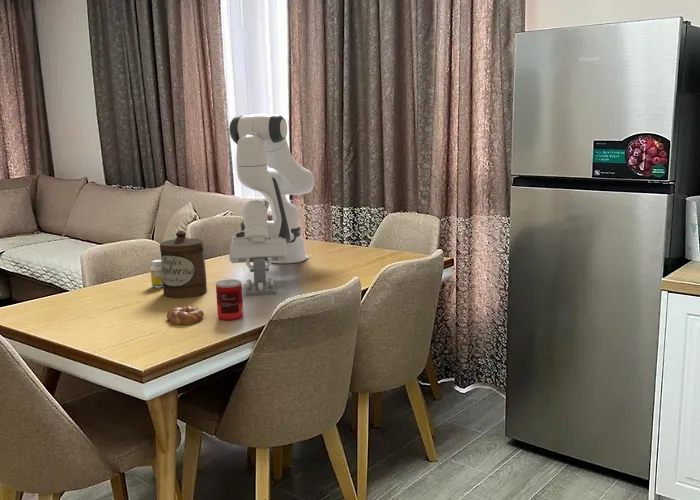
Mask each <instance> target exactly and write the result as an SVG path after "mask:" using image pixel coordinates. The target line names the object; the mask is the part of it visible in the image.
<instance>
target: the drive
mask: <svg viewBox="0 0 700 500" xmlns="http://www.w3.org/2000/svg"><path fill="white" fill-rule="evenodd" d="M252 265H253V267H254V272H253V284H254V285H255V287H256V286H258V283H259V282H263V286H266V283H267V271H266V269H265V265H266V262H265V258H264V257H262V258H253V262H252Z"/></svg>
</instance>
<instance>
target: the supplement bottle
mask: <svg viewBox="0 0 700 500" xmlns="http://www.w3.org/2000/svg"><path fill="white" fill-rule="evenodd" d="M151 265H152V266H151V267H150V278H151V280H150V281H151V287H152V288H153V287H155V288H154V289H162V288H161V287H163V281H162V263H161V259H154V260H152V261H151Z"/></svg>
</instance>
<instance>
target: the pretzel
mask: <svg viewBox="0 0 700 500" xmlns="http://www.w3.org/2000/svg"><path fill="white" fill-rule="evenodd" d="M204 317H205V313H204V311H203V310H201V309H199V307H196V306H192V305H191V306H190V305H183V306H176V307H173V308H171V309H169V310H168V312H167V313H166V319H167V321H168V322H170V321H171V323H172V324H173V325H183V326H187V325H189V324H190V325H193V323H194V324H195V323H198V322H200V321H202V319H203V318H204ZM197 321H198V322H197Z"/></svg>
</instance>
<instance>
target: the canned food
mask: <svg viewBox="0 0 700 500" xmlns="http://www.w3.org/2000/svg"><path fill="white" fill-rule="evenodd" d="M215 295H216V308H217V318H218V319H219V320H220V321H223V320H224V322H231V321H232V320H234V321H239V320H240V319H242V318H243V316H244V305H243V301H244V300H243V285H242V280H239V279H232V278H231V279H230V278H229V279H223V280H218V281H216V282H215Z"/></svg>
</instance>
